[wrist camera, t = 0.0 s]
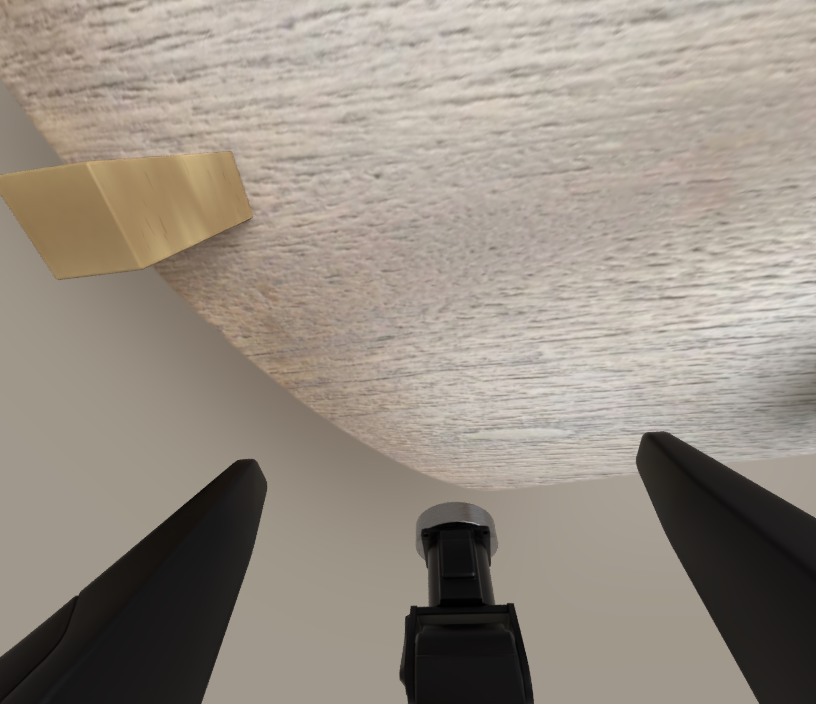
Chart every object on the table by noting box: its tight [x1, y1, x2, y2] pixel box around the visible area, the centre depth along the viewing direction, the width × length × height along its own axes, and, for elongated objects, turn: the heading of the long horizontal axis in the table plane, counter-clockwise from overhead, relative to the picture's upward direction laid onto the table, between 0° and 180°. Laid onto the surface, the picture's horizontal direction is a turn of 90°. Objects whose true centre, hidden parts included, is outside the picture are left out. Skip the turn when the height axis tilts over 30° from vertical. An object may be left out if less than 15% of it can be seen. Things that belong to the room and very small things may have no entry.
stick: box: [0, 151, 253, 280], centre depth 13 cm, size 3×3×8 cm
